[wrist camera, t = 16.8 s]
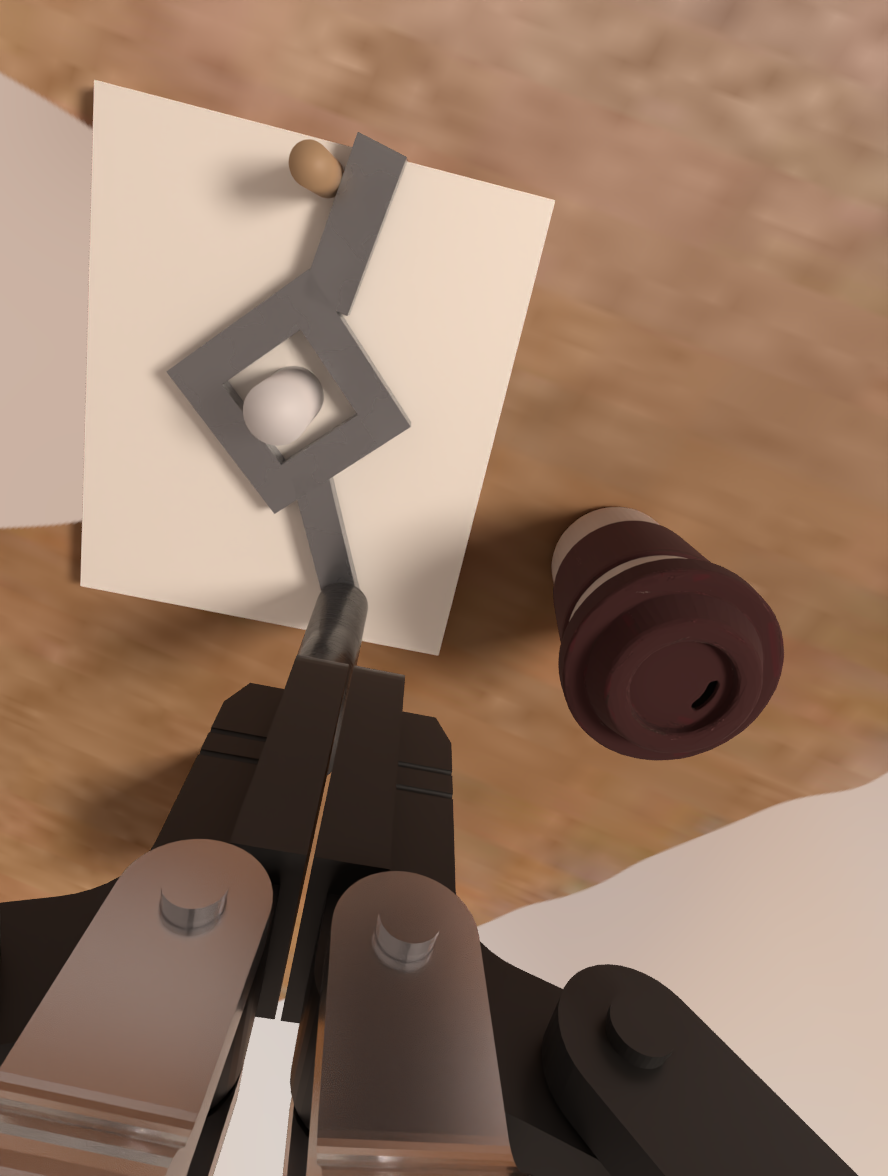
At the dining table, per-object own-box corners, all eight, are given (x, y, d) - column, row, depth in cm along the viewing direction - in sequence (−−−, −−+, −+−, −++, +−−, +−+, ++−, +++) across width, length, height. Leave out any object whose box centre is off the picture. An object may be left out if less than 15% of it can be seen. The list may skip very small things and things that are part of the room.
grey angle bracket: (106, 327, 37) (-91, 365, 23) (383, 118, 34) (346, 17, 20) (338, 627, 44) (294, 793, 31) (588, 482, 41) (666, 594, 27)
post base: (107, 87, 35) (33, 47, 28) (550, 202, 37) (574, 190, 30) (91, 576, 45) (33, 627, 39) (438, 644, 47) (438, 704, 41)
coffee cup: (502, 527, 44) (531, 647, 30) (656, 453, 42) (762, 545, 28) (566, 655, 48) (619, 813, 34) (711, 591, 46) (828, 732, 32)
